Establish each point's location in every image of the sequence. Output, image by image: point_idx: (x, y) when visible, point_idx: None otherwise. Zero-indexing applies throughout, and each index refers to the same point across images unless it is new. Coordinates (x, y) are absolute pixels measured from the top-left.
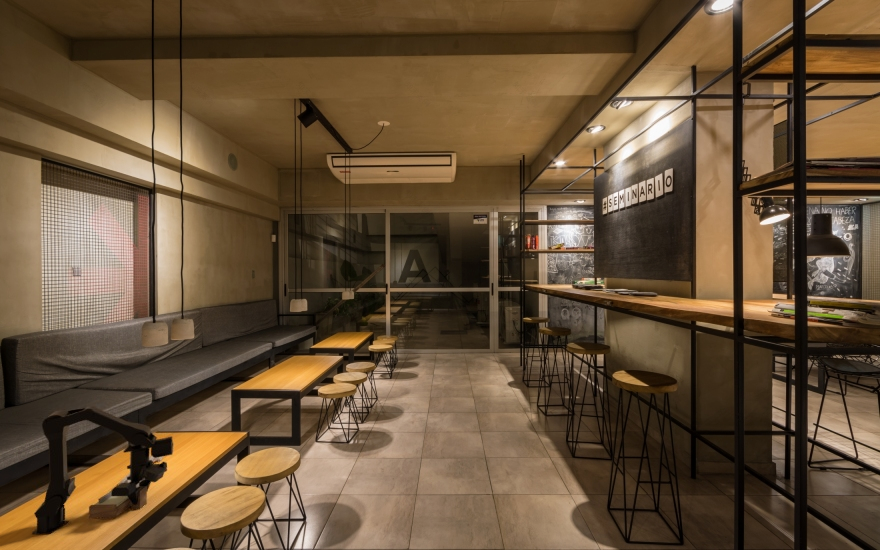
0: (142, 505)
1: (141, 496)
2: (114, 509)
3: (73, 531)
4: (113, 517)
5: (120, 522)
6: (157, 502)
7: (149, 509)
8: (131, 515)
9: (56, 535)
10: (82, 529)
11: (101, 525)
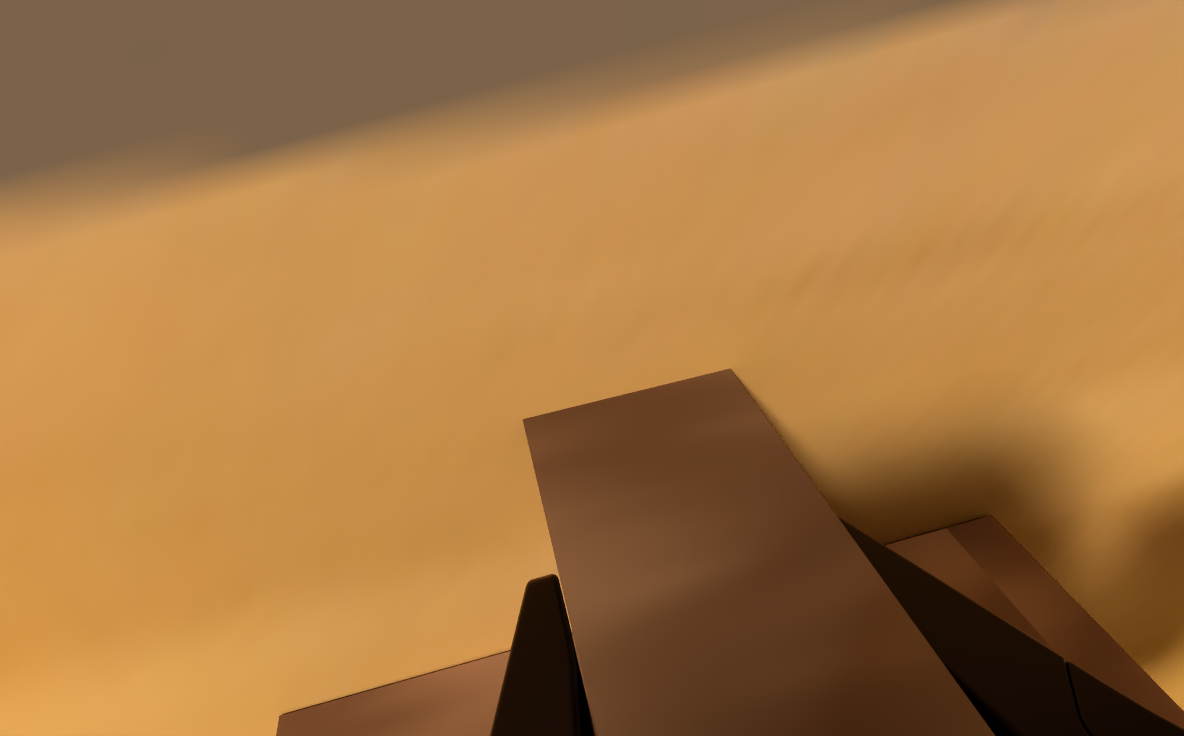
0: (673, 413)
1: (839, 622)
2: (1113, 649)
3: (1162, 649)
4: (998, 533)
5: (1164, 299)
6: (381, 216)
7: (743, 113)
8: (957, 319)
9: (1177, 704)
10: (1156, 611)
11: (1144, 500)
